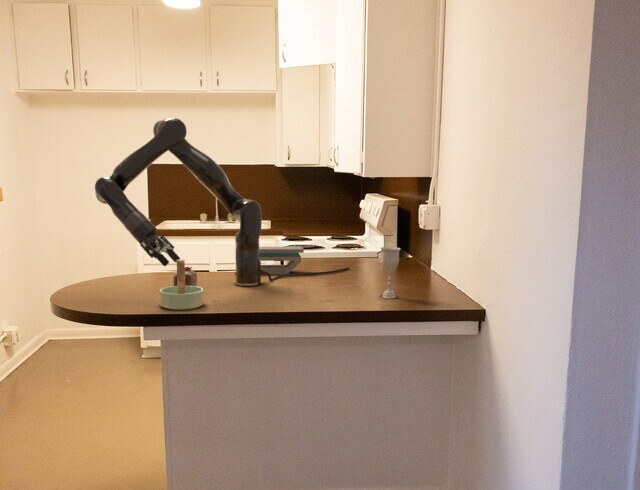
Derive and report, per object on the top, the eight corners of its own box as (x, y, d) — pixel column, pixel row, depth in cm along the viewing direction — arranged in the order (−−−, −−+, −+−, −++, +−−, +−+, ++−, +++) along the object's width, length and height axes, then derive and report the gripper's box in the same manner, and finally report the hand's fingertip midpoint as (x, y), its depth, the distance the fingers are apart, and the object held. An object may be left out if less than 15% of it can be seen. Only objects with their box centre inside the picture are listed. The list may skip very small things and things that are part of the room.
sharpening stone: (245, 274, 282) (245, 249, 280) (244, 271, 290) (244, 246, 288) (303, 274, 286) (303, 249, 284) (301, 270, 293) (301, 246, 291)
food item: (176, 289, 249) (175, 263, 248) (197, 289, 250) (197, 263, 248) (172, 296, 236) (171, 269, 234) (195, 296, 237) (194, 269, 235)
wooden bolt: (187, 301, 226) (186, 258, 223) (190, 305, 221) (189, 260, 218) (172, 302, 224) (171, 259, 221) (175, 306, 220) (174, 261, 217)
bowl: (198, 300, 232) (198, 284, 231) (207, 308, 219) (207, 292, 218) (157, 302, 227) (156, 287, 226) (163, 311, 214) (163, 295, 213)
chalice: (400, 296, 245) (402, 247, 241) (396, 299, 238) (398, 250, 235) (381, 294, 247) (383, 246, 243) (376, 297, 241) (378, 248, 237)
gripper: (136, 221, 213) (170, 258, 213) (156, 217, 226) (188, 252, 226) (122, 236, 215) (155, 273, 215) (142, 232, 228) (174, 266, 228)
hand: (172, 262), depth 220 cm, fingers open, 8 cm apart
